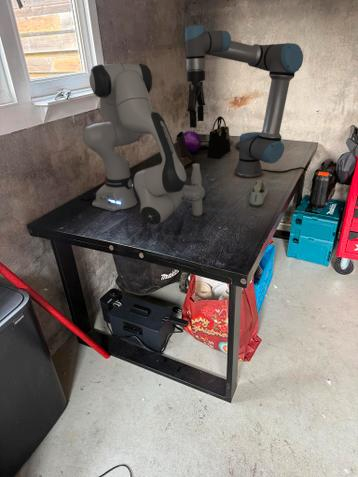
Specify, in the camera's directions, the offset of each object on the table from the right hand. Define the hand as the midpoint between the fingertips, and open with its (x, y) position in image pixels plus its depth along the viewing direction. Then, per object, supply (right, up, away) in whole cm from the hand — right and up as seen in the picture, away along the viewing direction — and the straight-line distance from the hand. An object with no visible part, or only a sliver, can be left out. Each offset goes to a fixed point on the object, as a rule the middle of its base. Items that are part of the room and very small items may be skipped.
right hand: (197, 124), depth 145 cm
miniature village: (+49, +17, +95) cm, 108 cm away
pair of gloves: (+15, +22, +107) cm, 110 cm away
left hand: (-6, -29, -16) cm, 34 cm away
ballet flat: (+31, -31, +15) cm, 46 cm away
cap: (+2, -29, +17) cm, 34 cm away
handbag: (+20, +7, +81) cm, 84 cm away
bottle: (0, -39, +3) cm, 39 cm away
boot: (-4, -2, +69) cm, 69 cm away
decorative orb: (0, +10, +88) cm, 89 cm away
